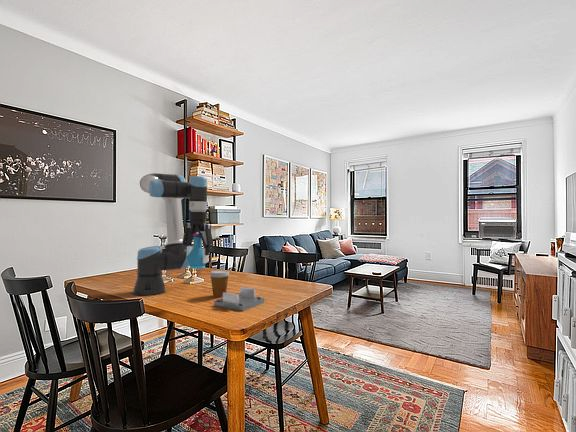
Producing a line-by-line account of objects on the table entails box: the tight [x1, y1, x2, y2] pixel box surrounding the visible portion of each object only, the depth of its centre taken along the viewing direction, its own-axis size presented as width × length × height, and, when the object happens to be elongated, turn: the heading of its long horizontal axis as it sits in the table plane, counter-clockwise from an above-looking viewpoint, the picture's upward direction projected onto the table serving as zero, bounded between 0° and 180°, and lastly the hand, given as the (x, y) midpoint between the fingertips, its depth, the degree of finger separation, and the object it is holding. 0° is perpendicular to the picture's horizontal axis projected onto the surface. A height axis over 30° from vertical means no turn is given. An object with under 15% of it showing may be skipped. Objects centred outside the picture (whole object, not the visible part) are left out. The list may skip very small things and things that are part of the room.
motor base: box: [213, 286, 265, 312], centre depth 146 cm, size 16×16×6 cm
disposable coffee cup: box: [209, 269, 230, 298], centre depth 161 cm, size 10×10×12 cm
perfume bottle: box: [187, 233, 207, 270], centre depth 144 cm, size 9×9×15 cm
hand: (197, 261), depth 144 cm, fingers closed on perfume bottle, 9 cm apart
